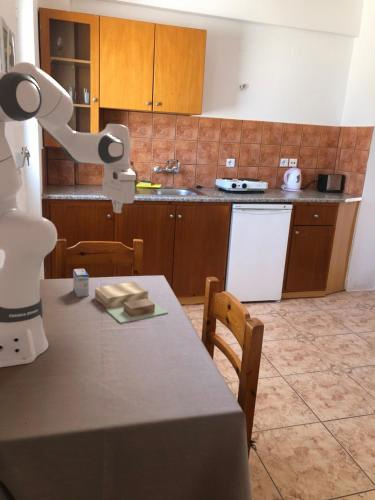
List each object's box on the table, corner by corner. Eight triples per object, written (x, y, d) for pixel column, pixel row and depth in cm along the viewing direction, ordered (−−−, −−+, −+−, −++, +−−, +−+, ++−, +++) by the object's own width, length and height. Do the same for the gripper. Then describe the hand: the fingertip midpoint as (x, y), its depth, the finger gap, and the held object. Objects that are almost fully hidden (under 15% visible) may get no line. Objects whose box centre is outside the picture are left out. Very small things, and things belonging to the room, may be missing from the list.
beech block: (107, 308, 145) (107, 298, 144) (95, 297, 155) (95, 287, 154) (148, 301, 154) (148, 291, 153) (133, 291, 163) (133, 281, 162)
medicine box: (73, 290, 161) (72, 269, 159) (84, 289, 163) (84, 268, 161) (77, 297, 154) (76, 275, 152) (89, 296, 156) (88, 274, 154)
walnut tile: (123, 302, 142) (123, 310, 143) (131, 308, 137) (131, 317, 138) (146, 298, 147) (146, 306, 148) (154, 304, 142) (154, 312, 143)
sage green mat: (120, 323, 134) (120, 322, 134) (106, 310, 144) (106, 309, 144) (168, 313, 144) (168, 312, 144) (151, 301, 153) (151, 300, 153)
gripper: (97, 170, 149) (98, 208, 153) (120, 175, 133) (120, 218, 136) (114, 170, 153) (114, 207, 156) (138, 175, 136) (137, 217, 140)
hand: (117, 212), depth 146 cm, fingers closed
